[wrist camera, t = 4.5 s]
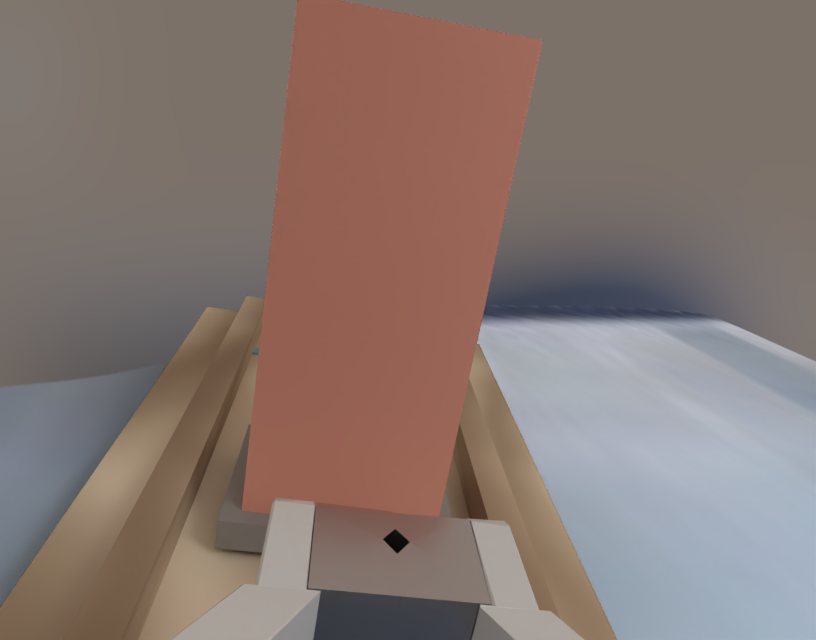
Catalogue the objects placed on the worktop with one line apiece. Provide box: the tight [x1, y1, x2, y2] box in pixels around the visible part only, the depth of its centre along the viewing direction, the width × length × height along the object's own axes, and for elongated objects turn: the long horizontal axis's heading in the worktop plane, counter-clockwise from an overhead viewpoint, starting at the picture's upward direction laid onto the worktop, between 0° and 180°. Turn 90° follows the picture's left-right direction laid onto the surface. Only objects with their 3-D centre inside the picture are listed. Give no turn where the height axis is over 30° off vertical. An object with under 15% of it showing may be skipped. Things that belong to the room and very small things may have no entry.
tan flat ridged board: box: [0, 296, 617, 640], centre depth 23 cm, size 14×24×3 cm, turn 4°
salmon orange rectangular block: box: [215, 0, 542, 553], centre depth 17 cm, size 6×5×13 cm
